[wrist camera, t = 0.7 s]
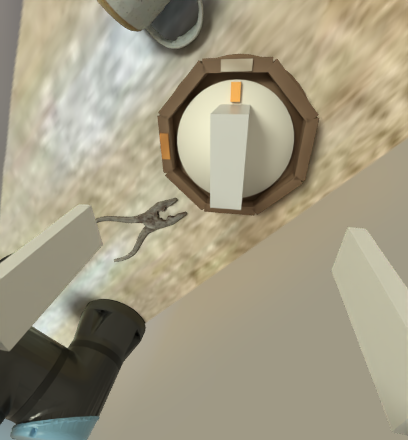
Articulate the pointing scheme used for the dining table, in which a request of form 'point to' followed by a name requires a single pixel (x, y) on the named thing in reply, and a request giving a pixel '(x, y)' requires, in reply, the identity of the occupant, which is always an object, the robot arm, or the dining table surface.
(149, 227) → the pliers
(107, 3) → the ceramic mug
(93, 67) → the dining table surface
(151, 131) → the dining table surface
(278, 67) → the dial housing
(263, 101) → the dial
